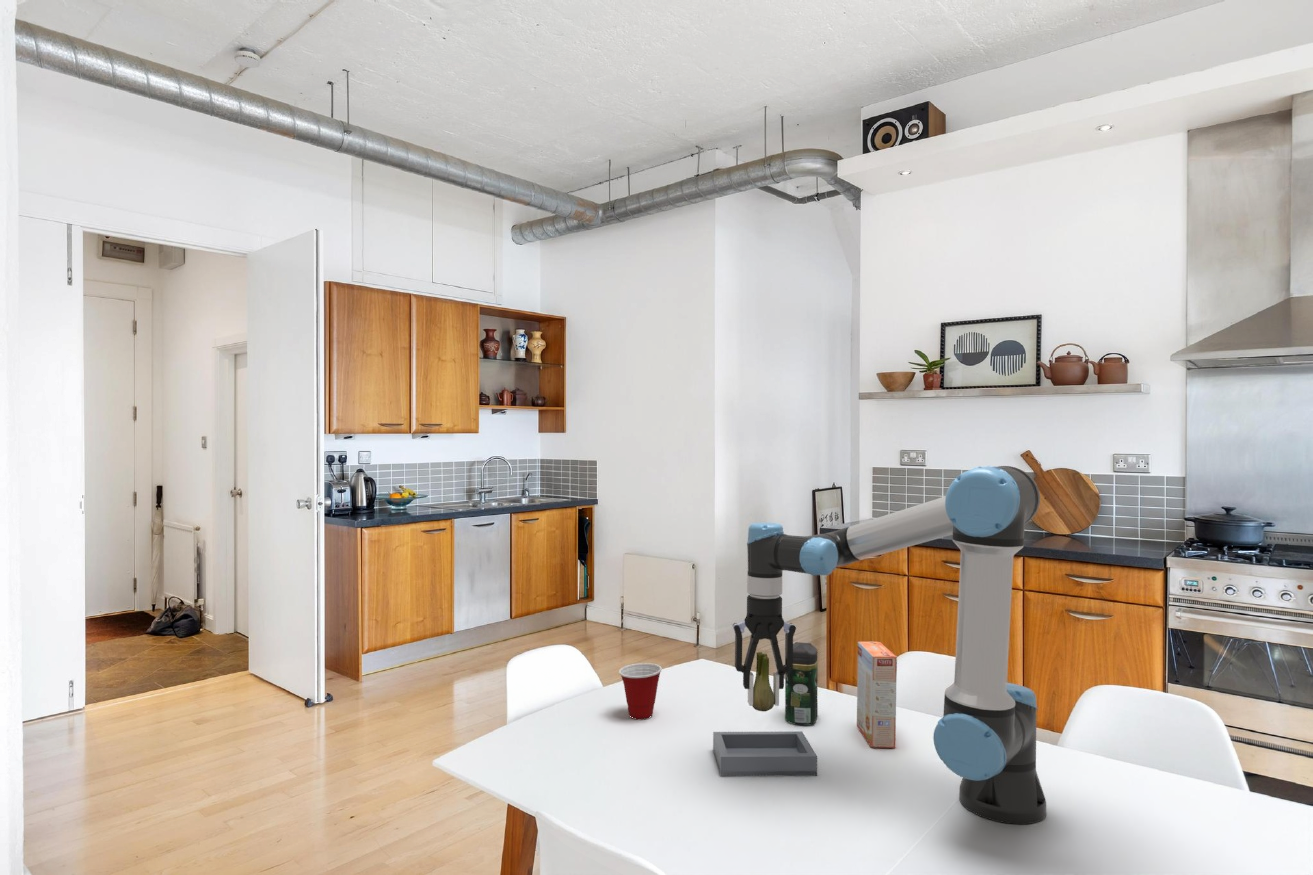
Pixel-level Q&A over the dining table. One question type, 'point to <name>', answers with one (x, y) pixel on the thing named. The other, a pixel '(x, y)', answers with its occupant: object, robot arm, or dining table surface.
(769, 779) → the dining table surface
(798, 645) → the coffee jar
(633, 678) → the plastic cup
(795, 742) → the bin
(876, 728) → the cracker box
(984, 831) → the dining table surface
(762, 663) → the fennel bulb
